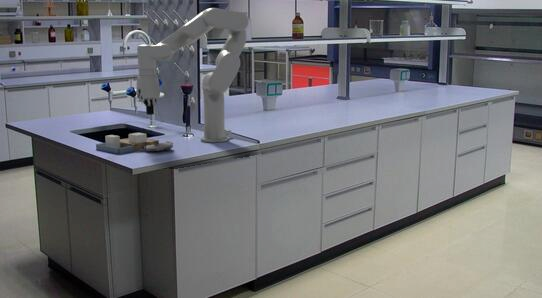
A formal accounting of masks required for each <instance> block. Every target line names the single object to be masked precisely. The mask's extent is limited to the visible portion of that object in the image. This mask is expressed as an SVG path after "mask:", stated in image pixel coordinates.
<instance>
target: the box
mask: <svg viewBox="0 0 542 298" xmlns="http://www.w3.org/2000/svg"><path fill="white" fill-rule="evenodd" d="M95 146H96V147H95V148H96V150H97V151H101V152H105V153H111V154H116V155H123V154H124V155H125V154H129V153H135V151H134V146H129V147H123V148H115V147H110V146H106V142H102V143H95Z"/></svg>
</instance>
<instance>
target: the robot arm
mask: <svg viewBox="0 0 542 298" xmlns="http://www.w3.org/2000/svg"><path fill="white" fill-rule="evenodd" d="M248 26H249V17H248V16H247V14H245V13H244V12H242V11H237V10H230V9H223V8H219V7H210V8H207V9H205V10H203V11H201V12H200V13H198V14H197V15H196V16H194V17H193V18H191V19H190V20H189V21H188V22H186V23H185V24H184V25H182V26H180V27H179V28H178V29H176V30H175V31H174V32H172V33H171V34H170V35H168V36H167V37H165V38H164V39H163V40H161V41H160V42H158V43H157V44H139V45H138V46H137V48H136V50H137V51H136V55H137V66H138V76H137V77H136V78H137V79H136V99H137V100H138V102H139V103H142V104H144V106H145V110H146V111H145V112H146V115H150V116H152V115H154V114H155V108H154V107H155V104H156V103H157V101H160V99H161V98H160V97H161V86H160V80H159V77H158V75H157V73H158V69H157V63H156V61H160V62H166V61H169V60H171V59H172V58H173V57H174V54H175V53H176V52H177V51H179V50H180V49H182V48H184V47H185V46H188V45H191V44H193V43H194V42H196V41H198V40H199V39H201V37H203V36H205V35H206V34H207V33H208V32H210V31H212V29H214V28H215V29H222V30H226V31H227V34H228V35H227V38H226V40H225V42H224V45H223V46H222V48H221V50H220V51H219V53H218V55H217V57H216V58H215V63H214V64H215V66H216V67H215V68H214V70H213V71H210V72H208V73H206V74H205V75H204V76H203V79H202V85H201V87H202V96H203V97H202V98H203V99H202V100H203V135H204V136H202V137H201V138H200V141H201V142H205V143H223V142H227V141H228V140H229V138H228V136H227V135H231V134H232V130H230V129H229V130H226V129H225V95H224V94H225V93H226V92H227V90H228V89H229V88H230V86H231V85H232V83H233V81H234V79H235V77H236V75H237V74H238V73H239V70H240V68H241V59H240V56H241V54H242V52H243V50H244V47H245V45H246V42H247V30H246V29H247V28H248Z"/></svg>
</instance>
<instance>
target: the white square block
mask: <svg viewBox="0 0 542 298" xmlns="http://www.w3.org/2000/svg"><path fill="white" fill-rule="evenodd" d="M147 137H148V136H147V133H143V132H133V133H129V134H128V138H129V142H131V143H142V142H147Z"/></svg>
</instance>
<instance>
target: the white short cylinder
mask: <svg viewBox="0 0 542 298" xmlns="http://www.w3.org/2000/svg"><path fill="white" fill-rule="evenodd" d="M104 138H105V143H106V146H110V147H115V148H120V139H121V137H120V136H119V135H114V134H109V135H105V137H104Z"/></svg>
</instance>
